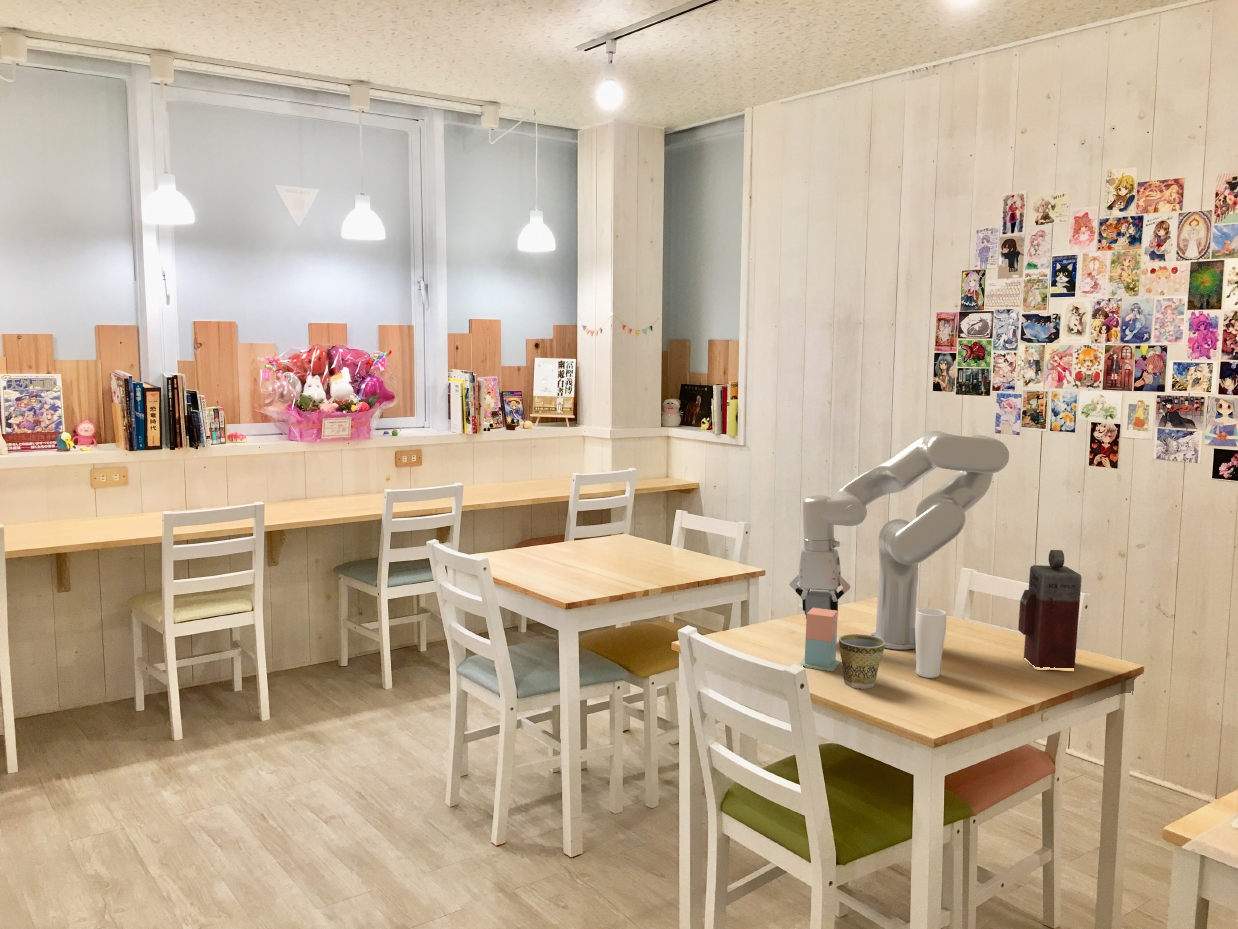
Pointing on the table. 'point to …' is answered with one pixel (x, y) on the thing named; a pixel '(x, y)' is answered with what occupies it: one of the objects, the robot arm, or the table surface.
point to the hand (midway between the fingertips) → (820, 614)
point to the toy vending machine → (1051, 614)
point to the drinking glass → (929, 641)
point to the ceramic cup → (860, 659)
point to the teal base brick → (820, 652)
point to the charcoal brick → (818, 600)
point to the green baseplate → (822, 666)
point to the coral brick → (821, 624)
